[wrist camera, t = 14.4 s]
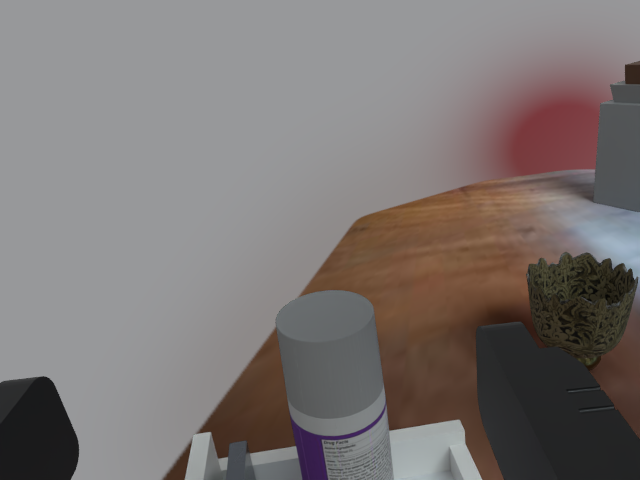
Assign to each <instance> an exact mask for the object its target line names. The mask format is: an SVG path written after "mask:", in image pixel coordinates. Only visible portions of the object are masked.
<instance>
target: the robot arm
mask: <svg viewBox="0 0 640 480" xmlns="http://www.w3.org/2000/svg"><path fill="white" fill-rule="evenodd" d="M476 353H477V391H478V403H479V409H480V414H481V419H482V422H483V426H484V429H485V432H486V434H487V437H488V439H489V442H490V445H491V447H492V450H493V452H494V455H495V457H496V460H497V463H498V465H499V468H500V470H501V473H502V475H503V478H504V480H640V439H639V438H638V437H637V435H636V434H635V433H634V431H633V430H632V429H631V427H630V426H629V425H628V423H627V422H626V420H625V419H624V418H623V416H622V415H621V414H620V412H619V411H618V410H615V408H614V404H613V403H612V402H611V400H610V399H609V398H608V396H607V395H606V393H605V392H604V391H603V390H602V391H601V389H600V385H599V384H598V383H597V381H596V380H595V379H594V377H593V376H592V375H591V373H590V372H589V371H588V369H587V368H586V367H585V365H584V364H583V363H582V362H580V361H579V360H577V359H576V358H574V357H573V356H571V355H570V354H568V353H566V352H565V351H563V350H562V349H560V348H559V347H548V348H539V347H538V346H537V344H536V343H535V341H534V340H533V338H532V336H531V335H530V333H529V332H528V330H527V329H526V327H525V326H524V324H523V323H522V322H512V323H504V324H495V325H487V326H478V328H477V331H476ZM78 457H79V444H78V439H77V436H76V434H75V431H74V429H73V427H72V424H71V422H70V420H69V417H68V415H67V413H66V410H65V408H64V406H63V404H62V401H61V399H60V396H59V394H58V392H57V390H56V387H55V385H54V383H53V382H52V381H51V380H50V379H49V378H47V377H44V376H43V377H34V378H26V379H18V380H9V381H3V382H1V383H0V480H71V478H72V476H73V474H74V472H75V470H76V467H77V463H78Z"/></svg>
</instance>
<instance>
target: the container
mask: <svg viewBox="0 0 640 480" xmlns="http://www.w3.org/2000/svg"><path fill="white" fill-rule="evenodd" d="M276 328H277V335H278V341H279V347H280V354H281V360H282V366H283V373H284V379H285V385H286V392H287V398H288V405H289V412H290V417H291V423H292V428H293V433H294V438H295V443H296V449H297V454H298V459H299V464H300V470H301V475H302V480H394V475H393V465H392V456H391V446H390V436H389V426H388V416H387V406H386V396H385V390H384V383H383V375H382V368H381V360H380V353H379V346H378V338H377V331H376V323H375V316H374V309H373V306H372V304H371V303H370V301H369V300H368V299H366V298H365V297H363V296H361V295H359V294H356V293H353V292H348V291H341V290H329V291H320V292H315V293H311V294H307V295H304V296H301V297H299V298H297V299H295V300H293V301H291V302H289V303H288V304H287V305H285V306H284V307H283V308H282V309H281V310H280V311H279V313H278V315H277V317H276Z"/></svg>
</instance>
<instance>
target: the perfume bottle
mask: <svg viewBox="0 0 640 480" xmlns="http://www.w3.org/2000/svg"><path fill="white" fill-rule="evenodd" d="M610 87H611V91H612V95H613V100H610V101H607V102H604V103H601V104H600V116H599V130H598V144H597V158H596V171H595V185H594V199H593V202H594V203H599V204H604V205H608V206H613V207H618V208H623V209H627V210H632V211H637V212H640V61H638V62H634V63H631V64H627V65H625V81H622V82H618V83H615V84H611V85H610Z"/></svg>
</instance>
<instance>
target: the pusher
mask: <svg viewBox="0 0 640 480" xmlns="http://www.w3.org/2000/svg"><path fill="white" fill-rule="evenodd" d="M226 480H256V478H255V474H254V469H253V465H252V461H251V456H250V452H249V448H248V444H247V441H241V442H235V443H230V445H229V454H228V464H227V473H226Z"/></svg>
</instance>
